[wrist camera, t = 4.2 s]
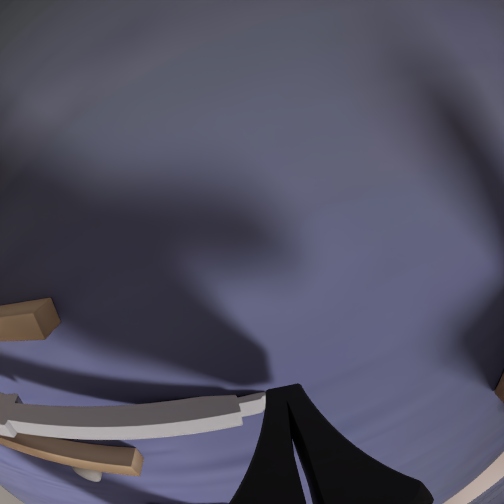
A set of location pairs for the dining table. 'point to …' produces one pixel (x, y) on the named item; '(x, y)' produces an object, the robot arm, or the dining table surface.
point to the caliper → (127, 417)
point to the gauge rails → (57, 450)
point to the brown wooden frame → (500, 388)
